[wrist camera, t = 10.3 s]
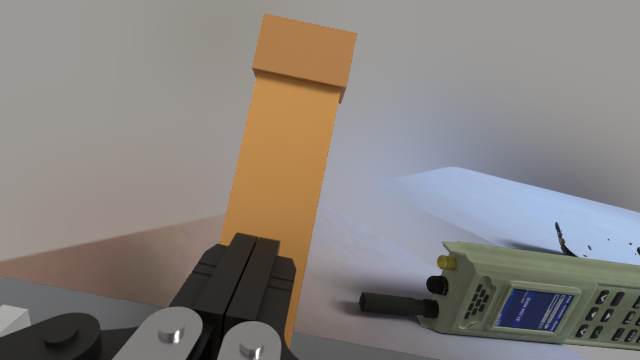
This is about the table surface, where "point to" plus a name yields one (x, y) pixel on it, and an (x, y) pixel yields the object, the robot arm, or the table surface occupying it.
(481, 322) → the handheld radio
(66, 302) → the pegged base beam
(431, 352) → the table surface
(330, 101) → the orange paddle
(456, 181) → the table surface
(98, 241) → the table surface
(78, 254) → the table surface
